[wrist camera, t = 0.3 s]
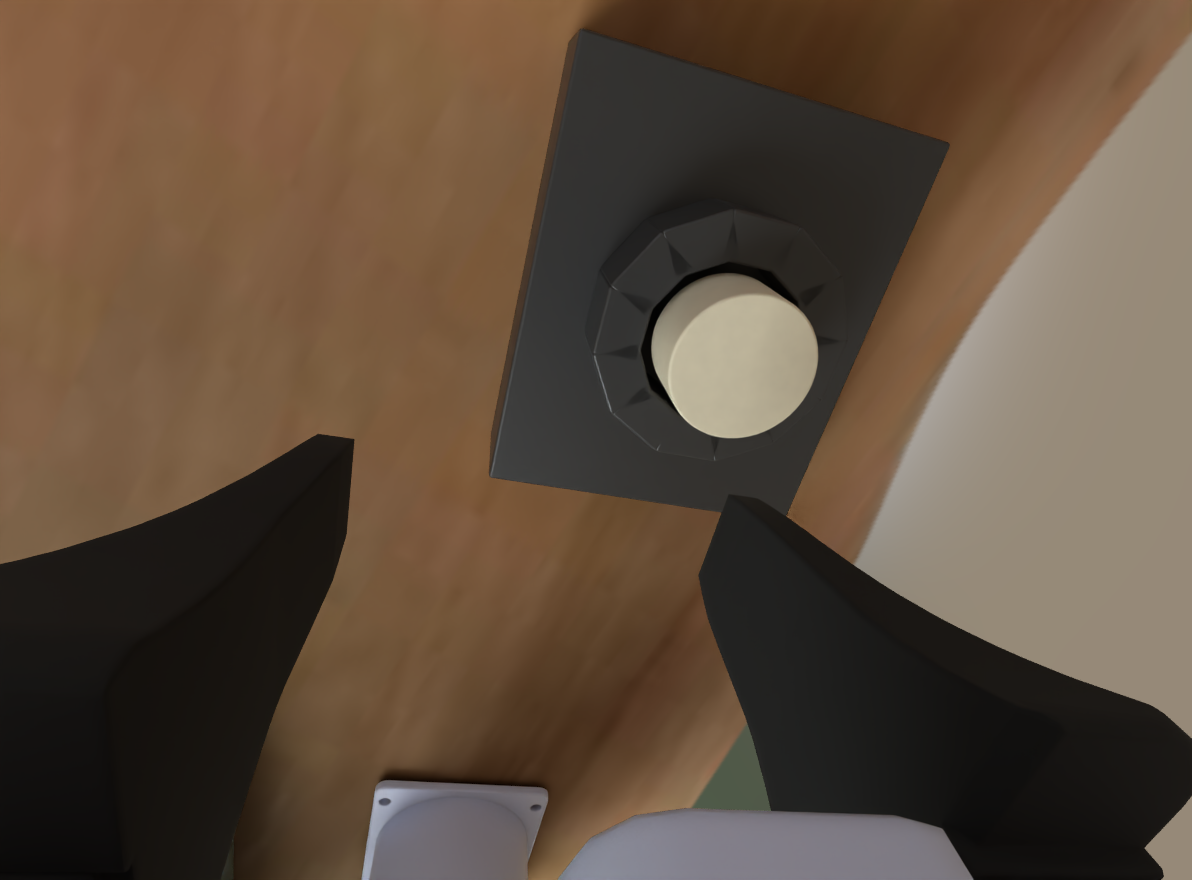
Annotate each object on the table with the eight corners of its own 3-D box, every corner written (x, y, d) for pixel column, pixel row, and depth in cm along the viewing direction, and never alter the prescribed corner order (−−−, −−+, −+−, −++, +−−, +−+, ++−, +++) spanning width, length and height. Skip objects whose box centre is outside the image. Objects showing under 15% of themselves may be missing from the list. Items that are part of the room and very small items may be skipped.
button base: (754, 478, 24) (808, 559, 20) (490, 434, 22) (486, 514, 18) (891, 138, 19) (1005, 147, 15) (569, 39, 17) (590, 15, 13)
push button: (757, 415, 18) (785, 450, 16) (634, 392, 17) (649, 426, 15) (806, 289, 16) (844, 311, 15) (674, 257, 16) (696, 276, 14)
